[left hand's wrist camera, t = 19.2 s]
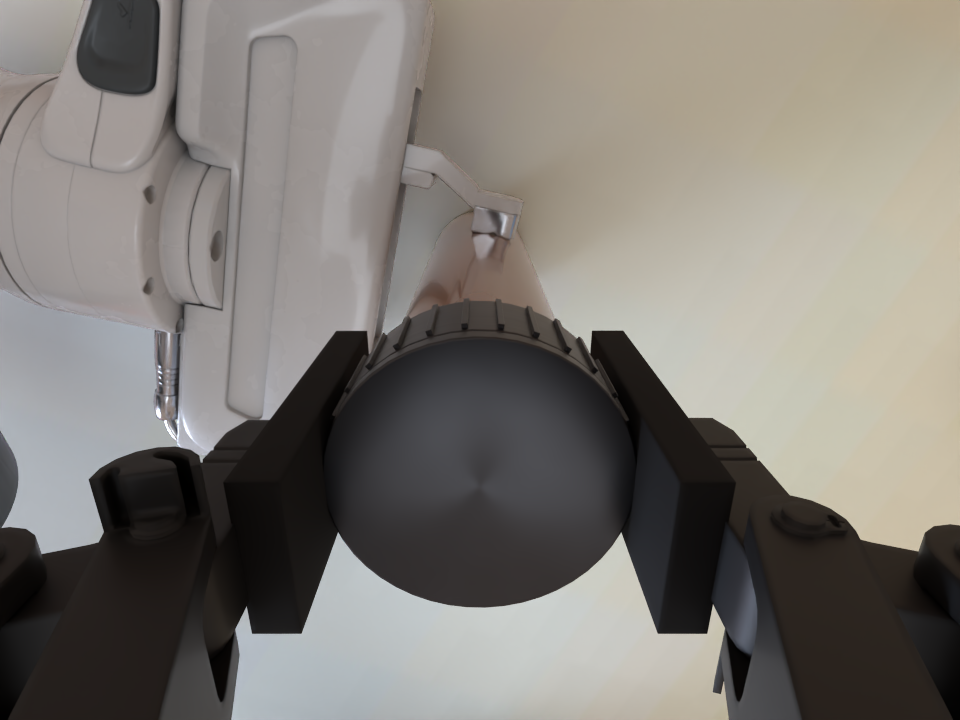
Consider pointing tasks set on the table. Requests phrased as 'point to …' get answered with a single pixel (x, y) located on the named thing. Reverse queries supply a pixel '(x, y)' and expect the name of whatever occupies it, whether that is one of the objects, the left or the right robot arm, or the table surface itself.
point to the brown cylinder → (478, 271)
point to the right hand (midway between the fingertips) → (501, 291)
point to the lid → (479, 456)
